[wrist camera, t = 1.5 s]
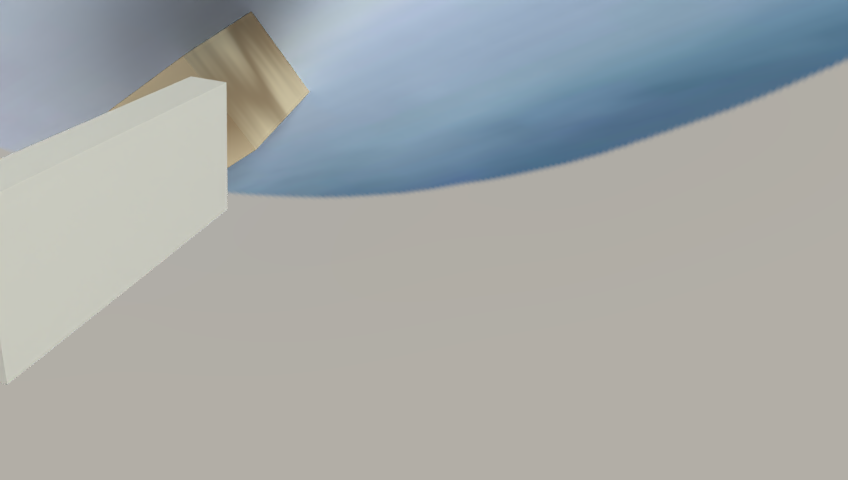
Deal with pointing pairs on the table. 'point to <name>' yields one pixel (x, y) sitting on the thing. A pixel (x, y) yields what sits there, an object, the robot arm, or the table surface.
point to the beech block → (239, 82)
